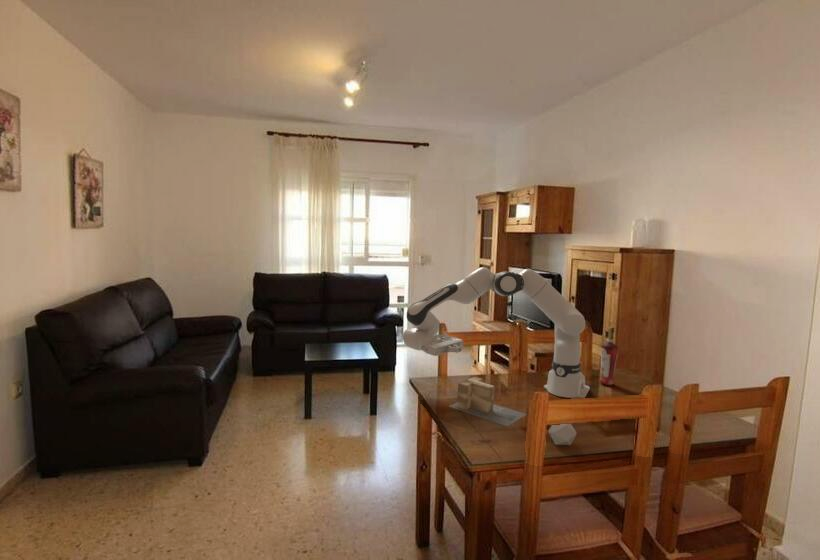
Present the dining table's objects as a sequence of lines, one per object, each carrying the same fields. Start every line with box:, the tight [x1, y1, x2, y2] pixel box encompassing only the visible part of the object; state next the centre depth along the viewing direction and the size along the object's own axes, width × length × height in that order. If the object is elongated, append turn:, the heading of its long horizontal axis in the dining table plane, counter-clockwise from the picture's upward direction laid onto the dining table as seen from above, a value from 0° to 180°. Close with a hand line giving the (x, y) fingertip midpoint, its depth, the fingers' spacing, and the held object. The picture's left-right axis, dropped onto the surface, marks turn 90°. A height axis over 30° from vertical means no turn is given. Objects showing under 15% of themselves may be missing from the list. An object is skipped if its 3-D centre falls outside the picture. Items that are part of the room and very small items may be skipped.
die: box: [547, 423, 577, 446], centre depth 161 cm, size 8×9×10 cm
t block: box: [456, 376, 495, 413], centre depth 190 cm, size 12×12×10 cm
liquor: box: [598, 326, 619, 386], centre depth 224 cm, size 7×7×28 cm
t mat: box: [448, 402, 528, 427], centre depth 187 cm, size 16×27×1 cm, turn 49°
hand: (459, 350), depth 194 cm, fingers closed
